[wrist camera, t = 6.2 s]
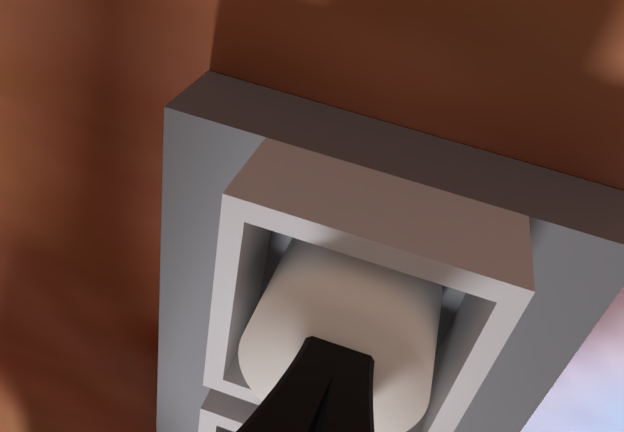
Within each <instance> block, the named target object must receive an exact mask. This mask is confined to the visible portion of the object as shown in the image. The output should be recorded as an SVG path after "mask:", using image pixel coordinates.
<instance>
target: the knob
mask: <svg viewBox="0 0 624 432" xmlns="http://www.w3.org/2000/svg"><path fill="white" fill-rule="evenodd" d="M441 302H442V285H440V284H437V283H434V282H431V281H428V280H425V279H421V278H418V277H415V276H412V275H409V274H406V273H403V272H400V271H396V270H393V269H390V268H387V267H384V266H381V265H378V264H374V263H371V262H368V261H365V260H362V259H359V258H356V257H353V256H349V255H346V254H343V253H340V252H337V251H334V250H331V249H327V248H324V247H321V246H318V245H315V244H312V243H309V242H306V241H302V240H299V239H296V238H293V239H292V240H291V242H290V243H289V245H288V247H287V248H286V250H285V252H284V254H283V256H282V258H281V260H280V262H279V264H278V266H277V268H276V270H275V272H274V274H273V276H272V278H271V280H270V282H269V284H268V286H267V288H266V290H265V292H264V294H263V296H262V297H261V299H260V301H259V303H258V305H257V307H256V309H255V311H254V313H253V315H252V317H251V319H250V321H249V323H248V325H247V327H246V329H245V331H244V333H243V335H242V337H241V339H240V343H239V348H238V358H239V365H240V368H241V372H242V374H243V376H244V378H245V381H246V382H247V384H248V385H249V387H250V389H251V390H252V391H253V392H254V394H255V395H256V396H257V397H258V398H259V399H260V400H261V402H262V401H263V400H264V399H265V397H266V396H267V395H268V394H269V393H270V391H271V390H272V389H273V388H274V386H275V385H276V384H277V382H278V381H279V380H280V378H281V377H282V375H283V374H284V373H285V371H286V370H287V369H288V367H289V366H290V364H291V363H292V361H293V360H294V358H295V356H296V355H297V353H298V352H299V350H300V348H301V346H302V344H303V342H304V340H305V338H307V337H310V336H314V337H317V338H320V339H323V340H326V341H329V342H332V343H335V344H338V345H341V346H344V347H347V348H350V349H353V350H356V351H359V352H362V353H365V354H368V355H371V356H372V358H373V359H374V361H375V364H374V375H373V413H374V430H375V432H406V431H408V430H409V429H411V428H412V427H413V426H415V425H416V424H417V423H418V422H419V421H420V419H421V418H422V417H423V415H424V414H425V412H426V410H427V407H428V405H429V400H430V394H431V385H432V377H433V369H434V360H435V352H436V344H437V335H438V327H439V318H440V310H441Z"/></svg>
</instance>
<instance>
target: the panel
mask: <svg viewBox="0 0 624 432" xmlns="http://www.w3.org/2000/svg"><path fill="white" fill-rule="evenodd" d="M293 238H296V239H299V240H302V241H306V242H309V243H312V244H315V245H318V246H321V247H324V248H327V249H331V250H334V251H337V252H340V253H343V254H346V255H349V256H353V257H356V258H359V259H362V260H365V261H368V262H371V263H374V264H378V265H381V266H384V267H387V268H390V269H393V270H396V271H400V272H403V273H406V274H409V275H412V276H415V277H418V278H421V279H425V280H428V281H431V282H434V283H437V284H440V285H442V302H441V310H440V318H439V327H438V335H437V344H436V352H435V360H434V369H433V377H432V385H431V394H430V400H429V405H428V407H427V410H426V412H425V414H424V415H423V417H422V418H421V419H420V421H419V422H418V423H417V424H416V425H415V426H413V427H412V428H411V429H409V430H408V431H406V432H520V431H521V430H522V428H523V427H524V425H525V424H526V423H527V421H528V420H529V418H530V417H531V416H532V414H533V413H534V411H535V410H536V408H537V407H538V406H539V404H540V403H541V401H542V400H543V399H544V397H545V396H546V394H547V393H548V392H549V390H550V389H551V387H552V386H553V384H554V383H555V382H556V380H557V379H558V377H559V376H560V375H561V373H562V372H563V370H564V369H565V368H566V366H567V365H568V363H569V362H570V360H571V359H572V358H573V356H574V355H575V353H576V352H577V351H578V349H579V348H580V346H581V345H582V343H583V342H584V341H585V339H586V338H587V336H588V335H589V334H590V332H591V331H592V329H593V328H594V327H595V325H596V324H597V322H598V321H599V319H600V318H601V317H602V315H603V314H604V312H605V311H606V310H607V308H608V307H609V305H610V304H611V303H612V301H613V300H614V298H615V297H616V295H617V294H618V293H619V291H620V290H621V288H622V287H623V286H624V191H623V190H619V189H616V188H612V187H609V186H606V185H602V184H599V183H595V182H592V181H588V180H585V179H581V178H578V177H574V176H571V175H568V174H564V173H561V172H557V171H554V170H550V169H547V168H543V167H540V166H536V165H533V164H530V163H526V162H523V161H519V160H516V159H512V158H509V157H505V156H502V155H498V154H495V153H491V152H488V151H485V150H481V149H478V148H474V147H471V146H467V145H464V144H460V143H457V142H453V141H450V140H447V139H443V138H440V137H436V136H433V135H429V134H426V133H422V132H419V131H415V130H412V129H409V128H405V127H402V126H398V125H395V124H391V123H388V122H384V121H381V120H377V119H374V118H371V117H367V116H364V115H360V114H357V113H353V112H350V111H346V110H343V109H339V108H336V107H333V106H329V105H326V104H322V103H319V102H315V101H312V100H308V99H305V98H301V97H298V96H295V95H291V94H288V93H284V92H281V91H277V90H274V89H270V88H267V87H263V86H260V85H257V84H253V83H250V82H246V81H243V80H239V79H236V78H232V77H229V76H225V75H222V74H219V73H215V72H212V71H207V72H206V73H205V74H204V75H202V76H201V77H200V78H199V79H198V80H196V81H195V82H194V83H193V84H191V85H190V86H189V87H188V88H186V89H185V90H184V91H183V92H182V93H180V94H179V95H178V96H177V97H175V98H174V99H173V100H172V101H170V102H169V103H168V104H167V105H166V106H164V128H163V170H162V212H161V253H160V295H159V337H158V379H157V421H156V432H236V431H237V430H238V429H239V428H240V427H241V426H242V425H243V424H244V423H245V421H246V420H247V419H248V418H249V417H250V416H251V415H252V413H253V412H254V411H255V410H256V409H257V407H258V406H259V405H260V404H261V400H260V399H259V398H258V397H257V396H256V395H255V394H254V392H253V391H252V390H251V389H250V387H249V385H248V384H247V382H246V381H245V378H244V376H243V374H242V372H241V368H240V365H239V358H238V348H239V343H240V339H241V337H242V335H243V333H244V331H245V329H246V327H247V325H248V323H249V321H250V319H251V317H252V315H253V313H254V311H255V309H256V307H257V305H258V303H259V301H260V299H261V297H262V296H263V294H264V292H265V290H266V288H267V286H268V284H269V282H270V280H271V278H272V276H273V274H274V272H275V270H276V268H277V266H278V264H279V262H280V260H281V258H282V256H283V254H284V252H285V250H286V248H287V247H288V245H289V243H290V242H291V240H292V239H293Z"/></svg>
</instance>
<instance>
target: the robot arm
mask: <svg viewBox="0 0 624 432" xmlns="http://www.w3.org/2000/svg"><path fill="white" fill-rule="evenodd" d="M374 364H375V361H374V359H373V358H372V356H371V355H368V354H365V353H362V352H359V351H356V350H353V349H350V348H347V347H344V346H341V345H338V344H335V343H332V342H329V341H326V340H323V339H320V338H317V337H314V336H310V337H307V338H305V340H304V342H303V344H302V346H301V348H300V350H299V352H298V353H297V355H296V356H295V358H294V360H293V361H292V363H291V364H290V366H289V367H288V369H287V370H286V371H285V373H284V374H283V375H282V377H281V378H280V380H279V381H278V382H277V384H276V385H275V386H274V388H273V389H272V390H271V391H270V393H269V394H268V395H267V396H266V397H265V399H264V400H263V401H262V402H261V404H260V405H259V406H258V407H257V409H256V410H255V411H254V412H253V413H252V415H251V416H250V417H249V418H248V419H247V420H246V421H245V423H244V424H243V425H242V426H241V427H240V428H239V429H238V430H237V431H236V432H375V430H374V413H373V375H374Z"/></svg>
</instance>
